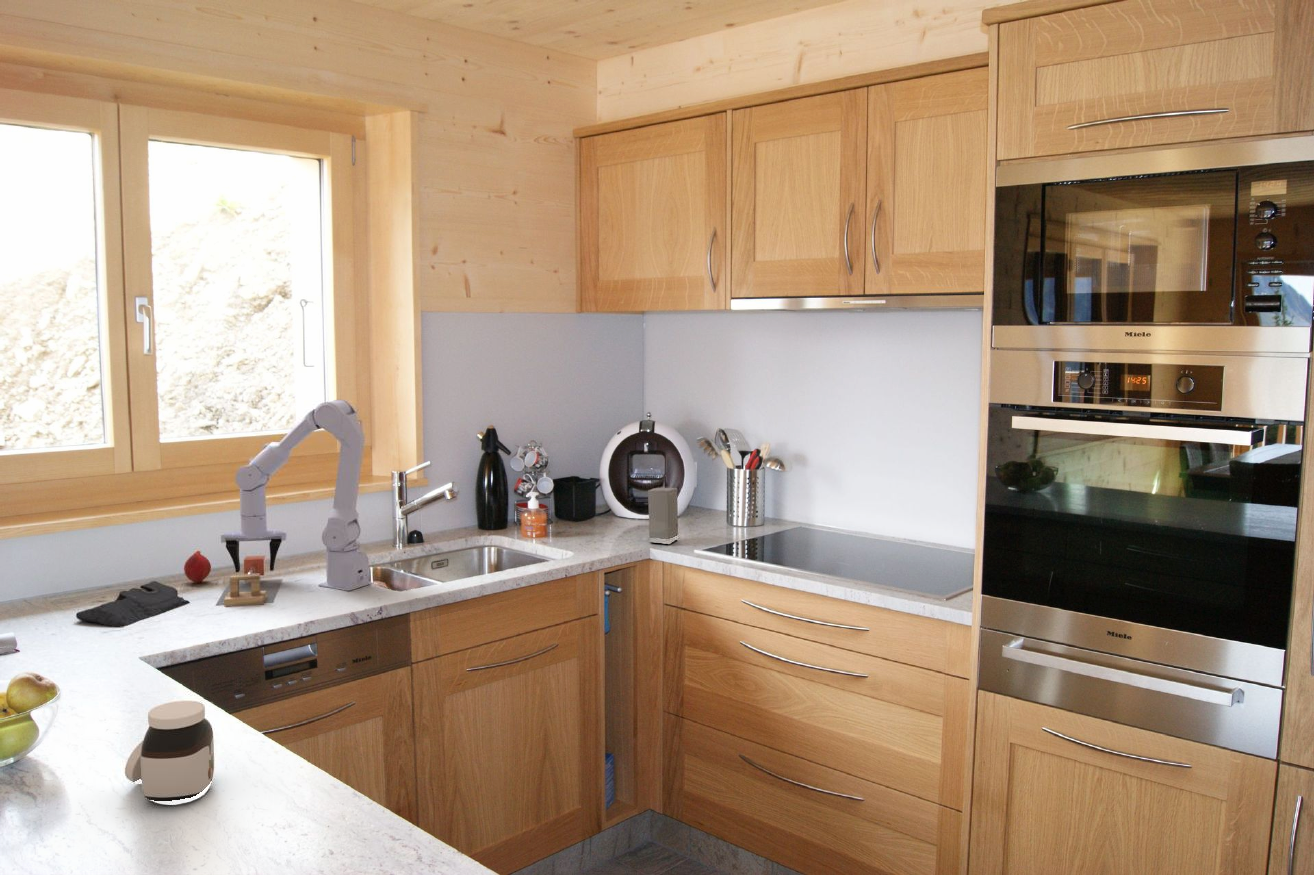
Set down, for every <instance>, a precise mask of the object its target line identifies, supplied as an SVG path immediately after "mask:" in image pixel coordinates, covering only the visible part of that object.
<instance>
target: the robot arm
mask: <svg viewBox="0 0 1314 875" xmlns="http://www.w3.org/2000/svg"><path fill="white" fill-rule="evenodd" d="M362 428H363V427H362V426H361V424H360V420H359V418H358V412H357V410H356V408H354V407H353V405H352V404H351V403H349V402H348V401H347V400H345V399H334V400H332V401H324V402H321V403H319V404H317V406H316V407H315V408H313V409H312V410H310V411H309V412H307V414H305V416H303V417H302V419H300V421H298V423H297V424H295V426H294V427H293V428H292V429H291V430H290V431H289V432H288V433H287V434H286V435H285V436H284V437H283V438H282V439H281V440H280V441H279V442H277V441H271V442H269V443H265V444H264V445H263V446H262V450H261V451H260V452H259V453H258V454H257V455H256V456H255V457H251V458H250V459H249V460H248V464H247V465H242V466H240V467H239V468H238V470H237V471H236V473H235V475H234V480H235V483H236V485H237V487H238V488H239V510H240V511H239V513H240V514H239V515H240V531H235V532H222V533H221V534H220V543H221V544H223V543H224V544H225V548H226V550H227V552H228V553H229V555H230V557H231V560H232V562H233V566H234V570H235V573H240V571H241V562H240V542H258V541H259V542H261V541H269V571H270V572H273V571H274V570H275V563H276V559H277V558H276V557H277V555H278V552H279V548H280V546H281V544H282V542H283V541H286V540H287V531H286V530H267V503H266V502H267V499H266V498H267V497H266V496H267V495H266V486H267V484H268V482H269V481H270V478H271V477H272V476H273V475H274V474H276V472H277V471H279V470H280V468H282V467H283V466H284V465H285V464H286V463H287V462H288V461H289V460H290V457H291V456H290V454H291V451H292V450H294V448H296V447H297V446H299V444H301V443H302V442H303V441H304V440H305V439H307V437H309V436H310V435H311V434H312V433H313V432H314V431H316V430H321V429H322V430H325V431H326V432H327V433H330V434H332V436H334V438H335V439H336V440H337V441H338V442H339V443H340V449H339V450H340V451H339V456H338V465H337V473H336V480H335V481H336V482H335V486H334V488H335V489H334V495H333V496H334V497H333V502H332V503H333V505H332V510H331V511H330V514H329V516H328V518H327V523H326V526H325V528H324V529H323V531H322V534H321V540H322V541H321V542H322V544H323V545H324V547H325V563H326V564H325V566H326V568H325V569H326V581H325V582H321V583H318V587H321V588H327V589H335V590H340V591H341V590H342V591H348V592H349V591H352V590H355V589H359V588H362V587H365V586H368V585H371V584H372V582H371V581H370V578H369V577H370V576H369V575H370V574H369V573H370V572H369V571H370V570H369V569H370V568H369V565H370V564H369V557H368V554H367V553H366V552H365V551H362V550H360V549H359V547H358V542H357V540H358V538H360V535H361V526H360V523H359V517H360V516H359V513H358V511H357V500H358V493H359V485H360V477H361V470H362V462H363V453H364V446H365V439H366V436H365V433H364V430H363V429H362Z"/></svg>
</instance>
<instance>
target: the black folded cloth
mask: <svg viewBox="0 0 1314 875" xmlns="http://www.w3.org/2000/svg"><path fill="white" fill-rule="evenodd" d="M178 595H179V593H178V590H177V589H176V588H175V587H173V586H170V585H167V584H163V583H161V582H158V581H156V580H153V581H150V582H149V583H145V584H143V585H140V588H137V587H132V588H130V589H129V590H122V591H121V590H120V592H119V594H118V597H117V598H116V599H115V600H113V601H109V602H106V603H102V604H100V605H96V606H95V607H92V608H88V609H84V610H82V611H78V612H76V613H75V616H76V619H77V620H79V621H83V622H91V623H98V624H101V625H105V626H108V627H112V626H114V628H121V627H120V626H124V627H127V626H130V625H133V624H136V623H138V622H140V621H144V620H147V619H149V618H152V617H156V616H159V615H162V614H163V613H166V612H170V611H172V610H175V609H178V608H181V607H183V606H186V605H188V604H190V601H189V600H188V599H187V600H186V599H184V598H183V597H181V596H178ZM116 626H117V627H116Z"/></svg>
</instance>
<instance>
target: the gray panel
mask: <svg viewBox="0 0 1314 875" xmlns="http://www.w3.org/2000/svg"><path fill="white" fill-rule="evenodd" d="M282 581H283V578H277V579H276V578H274V579H272V578H271V579H260V591H266V599H265V601H264V604H273V603H274V602H275V599H276V597H277V594H278V592H279V589H280V586H281V585H282ZM239 592H251V582H250V583H245V582H244V580H239ZM228 593H230V581H229V582H228V583H227V585H226V587H225V588H224V591H223V592H222V594H221V595H220V597H219V598H218V600H217V602H216V604H215V606H224V599H225V597H226V596H227V594H228Z"/></svg>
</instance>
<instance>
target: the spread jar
mask: <svg viewBox="0 0 1314 875" xmlns="http://www.w3.org/2000/svg"><path fill="white" fill-rule="evenodd" d="M205 708H206V707H205V704H204V703H203V702H200V701H195V700H179V701H178V700H176V701H169V702H166V703H162V704H159V705H157V706H155V707H152V708H151V709H150V710H149V711H148V713H147V719H148V720H147V722H148V726H149V727H148V728H147V730H146V732H145V735H144V738H143V740H141V742H139V744H138V745H136V747H135V748H134V749H133V751H132V752H130V755H129V757H128V758H127V761H126V764H125V767H124V775H125V777H126V779H127V780H129V781H130V782H131V783H133V782H135V781H137V780H139V779H141V780H142V785H141V790H142V794H143V797H144V798H145V799H146V798H147V799H149V800H154V801H172V800H180V799H185V798H191V797H193V796H196V795H197V794H199V793H200V792H202V791H203V790H204V789H205V788H206V787H207V786H208V785H209V784H210V782H211V781H212V782H213V777H214V771H215V745H214V742H215V740H214V731H213V726H212V724H211V723H210V722H209V720H208V719H207V718H206V709H205ZM147 799H146V800H147Z"/></svg>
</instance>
